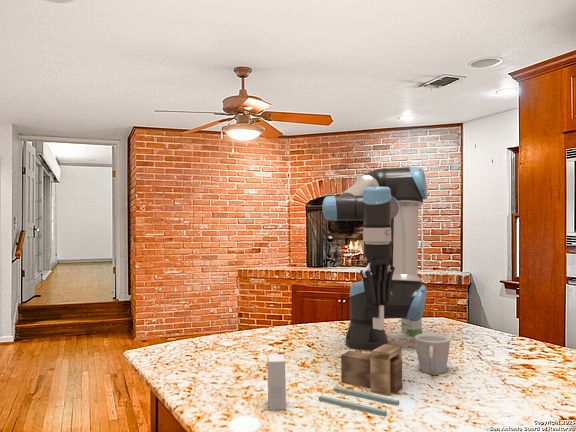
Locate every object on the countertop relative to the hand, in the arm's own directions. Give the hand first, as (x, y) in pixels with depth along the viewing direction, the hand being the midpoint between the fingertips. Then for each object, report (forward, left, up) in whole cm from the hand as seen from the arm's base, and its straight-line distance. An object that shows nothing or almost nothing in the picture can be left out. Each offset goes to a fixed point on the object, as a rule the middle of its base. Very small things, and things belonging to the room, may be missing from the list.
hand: (378, 328), depth 135 cm
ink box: (-14, +61, -16) cm, 65 cm away
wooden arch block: (+2, -1, -16) cm, 16 cm away
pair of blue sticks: (0, -14, -16) cm, 21 cm away
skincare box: (-16, -27, -16) cm, 35 cm away
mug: (+8, +19, -16) cm, 27 cm away
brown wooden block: (-2, -1, -16) cm, 16 cm away
